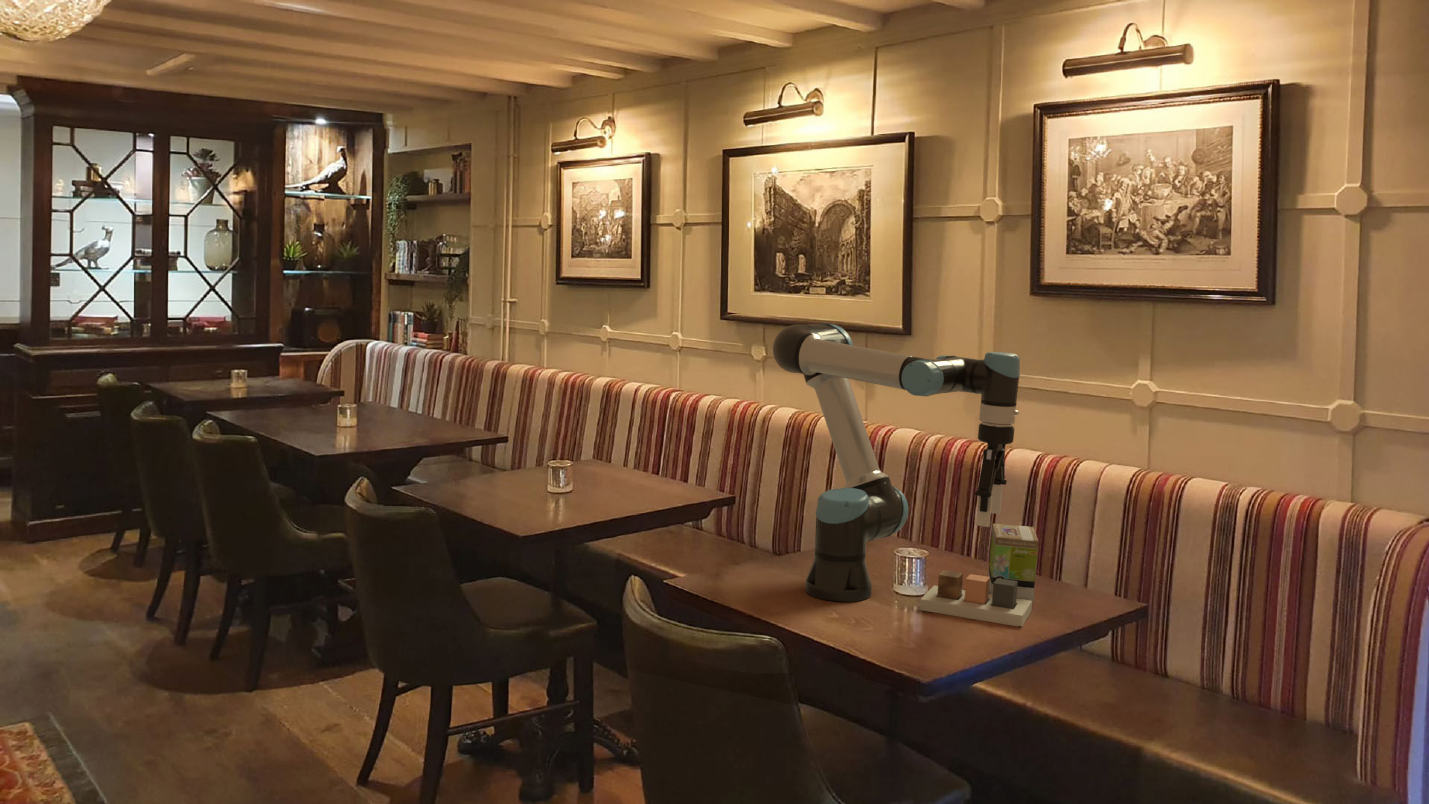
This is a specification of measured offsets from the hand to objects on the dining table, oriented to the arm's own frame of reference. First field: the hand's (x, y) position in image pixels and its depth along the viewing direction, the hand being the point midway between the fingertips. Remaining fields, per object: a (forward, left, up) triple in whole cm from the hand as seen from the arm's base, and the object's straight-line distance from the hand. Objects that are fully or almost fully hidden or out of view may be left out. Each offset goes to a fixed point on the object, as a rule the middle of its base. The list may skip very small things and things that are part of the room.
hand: (988, 519), depth 243 cm
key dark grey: (+5, -1, -18) cm, 19 cm away
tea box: (+3, +18, -21) cm, 28 cm away
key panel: (-1, -1, -21) cm, 21 cm away
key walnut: (-7, -1, -18) cm, 19 cm away
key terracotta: (-1, -1, -18) cm, 18 cm away
